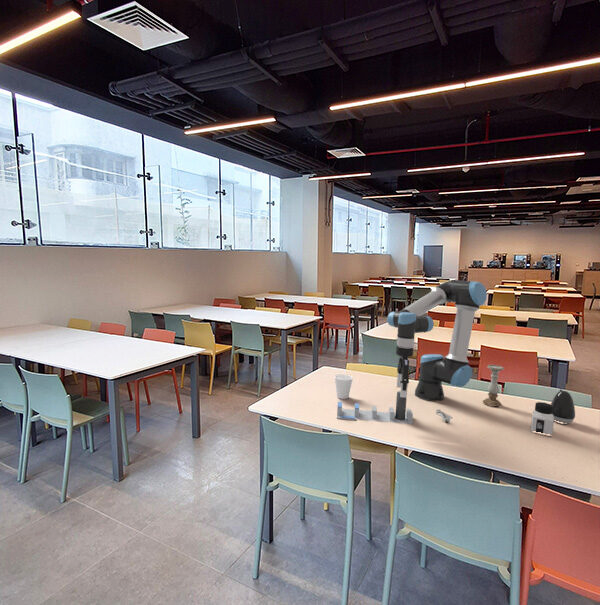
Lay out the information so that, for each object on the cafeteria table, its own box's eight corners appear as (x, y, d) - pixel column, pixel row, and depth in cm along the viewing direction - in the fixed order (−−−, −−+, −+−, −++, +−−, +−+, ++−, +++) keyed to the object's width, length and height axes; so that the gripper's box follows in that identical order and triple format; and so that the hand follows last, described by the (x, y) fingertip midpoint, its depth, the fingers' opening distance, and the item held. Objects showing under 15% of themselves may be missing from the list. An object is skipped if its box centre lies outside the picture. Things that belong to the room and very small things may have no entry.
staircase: (435, 421, 177) (436, 410, 176) (441, 420, 178) (442, 408, 178) (445, 427, 171) (446, 415, 170) (452, 425, 172) (453, 414, 172)
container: (551, 437, 163) (555, 408, 162) (530, 432, 167) (534, 404, 166) (551, 431, 170) (554, 403, 168) (531, 426, 174) (534, 399, 172)
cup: (353, 401, 197) (354, 380, 196) (334, 400, 198) (335, 379, 196) (351, 394, 207) (352, 374, 206) (332, 393, 207) (333, 374, 206)
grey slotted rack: (409, 415, 181) (410, 405, 181) (413, 425, 170) (413, 414, 170) (337, 409, 185) (338, 399, 185) (336, 418, 175) (337, 408, 174)
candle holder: (497, 408, 194) (501, 370, 192) (479, 403, 201) (483, 366, 198) (504, 404, 200) (507, 367, 198) (487, 399, 206) (490, 363, 204)
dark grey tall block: (404, 416, 178) (406, 391, 177) (405, 420, 174) (407, 395, 172) (394, 415, 179) (396, 391, 177) (395, 419, 174) (397, 394, 173)
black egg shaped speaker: (569, 419, 183) (573, 389, 182) (577, 428, 174) (581, 396, 172) (545, 416, 187) (548, 386, 185) (551, 424, 177) (555, 392, 175)
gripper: (393, 340, 185) (390, 383, 187) (399, 352, 161) (396, 400, 163) (409, 341, 184) (406, 384, 186) (418, 353, 160) (414, 402, 162)
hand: (401, 392), depth 175 cm, fingers open, 13 cm apart
